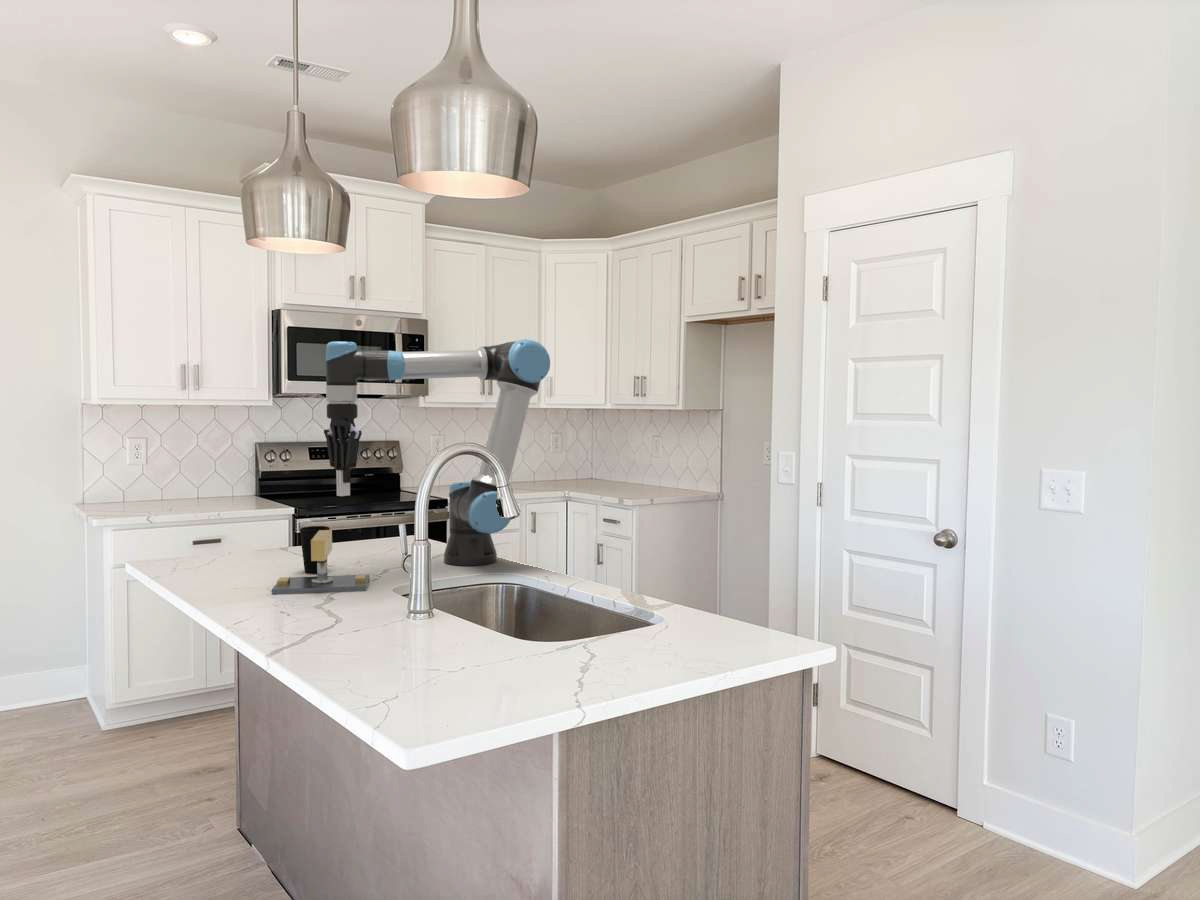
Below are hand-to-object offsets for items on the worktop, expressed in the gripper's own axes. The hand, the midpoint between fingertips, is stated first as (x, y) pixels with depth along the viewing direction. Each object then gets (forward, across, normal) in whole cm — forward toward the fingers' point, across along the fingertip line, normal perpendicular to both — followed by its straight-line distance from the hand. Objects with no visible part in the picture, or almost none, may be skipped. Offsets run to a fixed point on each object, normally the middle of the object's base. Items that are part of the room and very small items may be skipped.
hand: (343, 495), depth 225 cm
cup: (+23, +17, -3) cm, 28 cm away
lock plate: (+22, 0, +6) cm, 23 cm away
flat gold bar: (+16, 0, +7) cm, 17 cm away
